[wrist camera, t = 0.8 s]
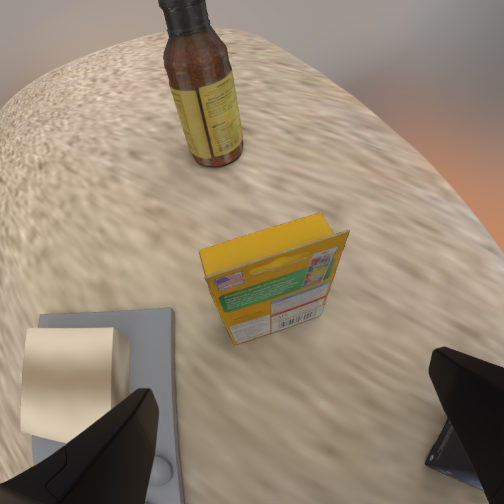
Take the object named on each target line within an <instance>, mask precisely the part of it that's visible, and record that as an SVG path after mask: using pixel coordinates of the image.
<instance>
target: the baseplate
mask: <svg viewBox="0 0 504 504" xmlns="http://www.w3.org/2000/svg"><path fill="white" fill-rule="evenodd" d="M109 327H114V328H115V329H116V330H118V331H119V332H121V333H122V334H124V335H125V336H126V337H128V338H129V339H130V357H129V395H130V394H131V393H132V392H134V391H135V390H136V389H138V388H150V389H151V390H152V391H153V394H154V396H155V399H156V401H157V404H158V407H159V421H158V431H157V441H156V451H155V457H154V462H153V466H152V471H151V475H150V480H149V485H148V490H147V494H146V499H145V504H185V502H184V494H183V485H182V476H181V465H180V454H179V441H178V427H177V409H176V387H175V346H174V311H173V310H172V308H159V309H145V310H129V311H112V312H92V313H68V314H40V317H39V323H38V328H109ZM66 444H67V443H63V442H59V441H54V440H50V439H46V438H42V437H38V436H35V435H32V450H33V464H34V466H35V465H36V464H38V463H39V462H41V461H43V460H44V459H46V458H47V457H49V456H50V455H52V454H53V453H54V452H56V451H57V450H59V449H60V448H61V447H63V446H66Z"/></svg>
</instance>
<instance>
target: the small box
mask: <svg viewBox="0 0 504 504" xmlns="http://www.w3.org/2000/svg"><path fill="white" fill-rule="evenodd" d="M425 465H427V466H428V467H430V468H432V469H434V470H437V471H439V472H441V473H443V474H445V475H447V476H450V477H452V478H454V479H457V480H459V481H461V482H464V483H466V484H469V485H471V486H474V487H476V488H479V489H482V490H483V488H482V486H481V483H480V481H479V479H478V477H477V475H476V473H475V470H474V468H473V466H472V464H471V462H470V460H469V458H468V456H467V454H466V452H465V450H464V448H463V446H462V444H461V442H460V440H459V438H458V436H457V434H456V432H455V430H454V428H453V426H452V424H451V423H450V421H449V419H448V421H447V423H446V425H445V427H444V429H443V431H442V433H441V434H440V436H439V438H438V440H437V442H436V443H435V445H434V447H433V449H432V451H431V453H430V455H429V457H428V459H427V460H426V462H425Z"/></svg>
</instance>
